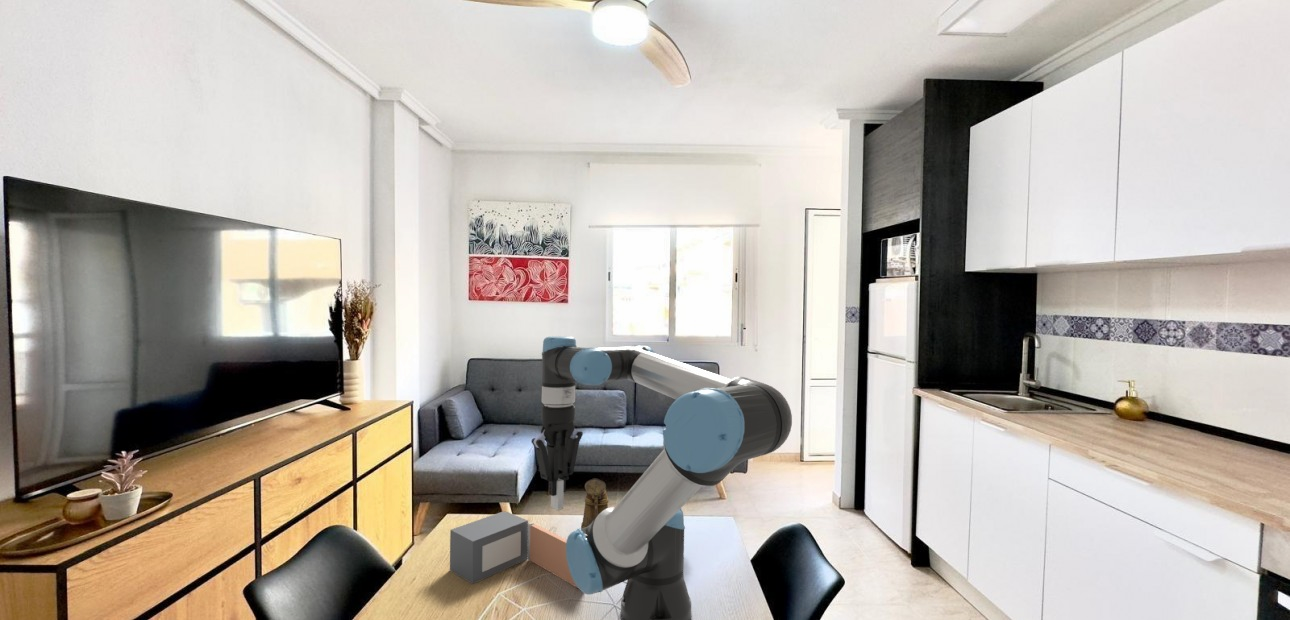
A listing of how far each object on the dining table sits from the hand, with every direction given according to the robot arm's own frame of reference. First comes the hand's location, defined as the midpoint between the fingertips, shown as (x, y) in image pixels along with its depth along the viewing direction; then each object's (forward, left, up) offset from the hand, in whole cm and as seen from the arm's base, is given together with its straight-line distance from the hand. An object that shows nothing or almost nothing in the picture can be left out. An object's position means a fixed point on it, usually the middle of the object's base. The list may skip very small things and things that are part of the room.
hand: (556, 508), depth 115 cm
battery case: (+24, +1, -20) cm, 31 cm away
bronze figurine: (+17, -30, -20) cm, 39 cm away
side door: (+7, -6, -19) cm, 21 cm away
